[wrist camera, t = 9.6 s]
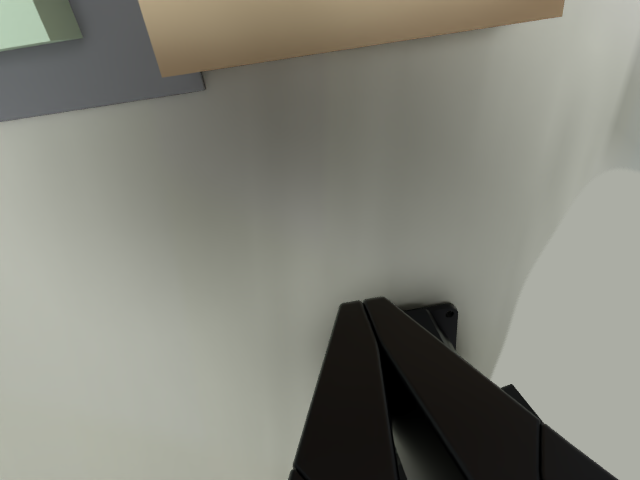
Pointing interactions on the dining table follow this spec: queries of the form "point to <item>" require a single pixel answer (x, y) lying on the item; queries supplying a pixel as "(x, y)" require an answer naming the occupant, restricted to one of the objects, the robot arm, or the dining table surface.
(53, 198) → the dining table surface
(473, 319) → the dining table surface
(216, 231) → the dining table surface
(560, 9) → the deck
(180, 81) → the mat
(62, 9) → the sage green tile
